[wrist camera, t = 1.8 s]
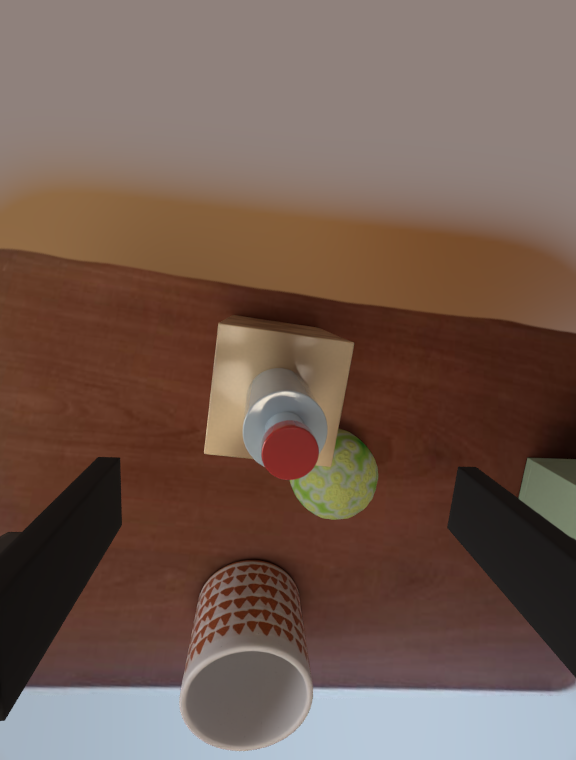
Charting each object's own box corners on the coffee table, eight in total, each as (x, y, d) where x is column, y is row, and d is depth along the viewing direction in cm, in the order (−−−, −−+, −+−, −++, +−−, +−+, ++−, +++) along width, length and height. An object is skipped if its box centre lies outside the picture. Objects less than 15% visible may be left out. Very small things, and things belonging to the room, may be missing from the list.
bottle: (286, 355, 26) (304, 386, 17) (321, 406, 27) (358, 464, 18) (233, 391, 27) (219, 443, 17) (270, 441, 28) (277, 516, 18)
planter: (181, 581, 48) (155, 679, 35) (277, 542, 48) (284, 627, 35) (223, 656, 51) (212, 771, 38) (313, 620, 51) (331, 723, 38)
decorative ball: (373, 429, 46) (405, 463, 36) (346, 498, 47) (370, 549, 38) (299, 407, 44) (312, 437, 34) (275, 479, 46) (280, 528, 36)
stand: (318, 327, 42) (354, 342, 27) (304, 409, 44) (331, 467, 29) (232, 314, 41) (218, 322, 26) (222, 399, 43) (203, 454, 27)
